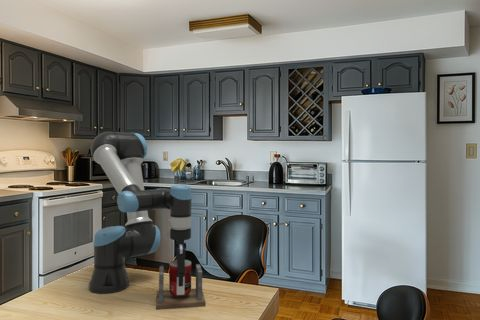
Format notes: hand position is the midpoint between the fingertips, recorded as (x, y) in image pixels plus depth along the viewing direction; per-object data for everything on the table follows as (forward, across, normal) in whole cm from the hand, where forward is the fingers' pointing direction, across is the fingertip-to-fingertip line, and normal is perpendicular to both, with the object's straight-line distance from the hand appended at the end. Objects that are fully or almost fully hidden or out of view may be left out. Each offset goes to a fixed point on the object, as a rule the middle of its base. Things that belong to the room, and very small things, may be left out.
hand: (180, 290), depth 139 cm
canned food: (+1, 0, 0) cm, 1 cm away
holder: (+4, 0, 0) cm, 4 cm away
